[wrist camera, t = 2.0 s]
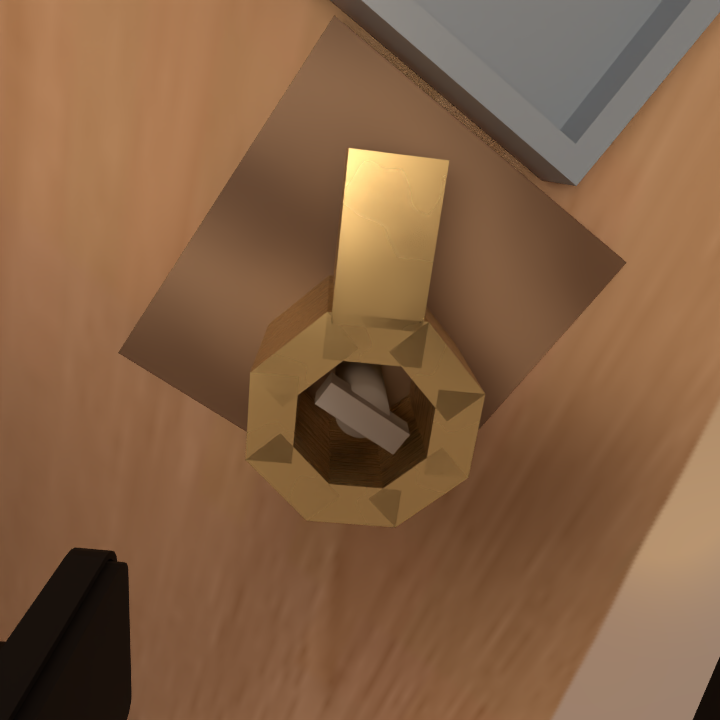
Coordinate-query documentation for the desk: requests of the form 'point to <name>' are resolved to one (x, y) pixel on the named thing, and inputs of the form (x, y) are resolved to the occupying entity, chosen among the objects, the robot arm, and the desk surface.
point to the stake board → (319, 241)
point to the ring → (367, 359)
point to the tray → (541, 65)
